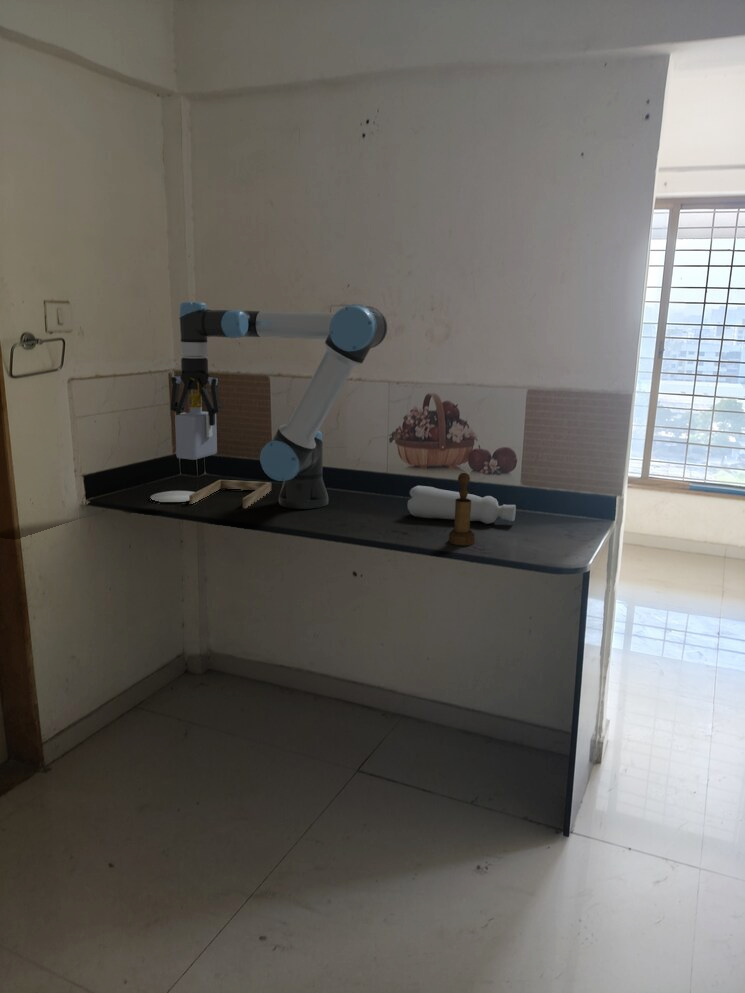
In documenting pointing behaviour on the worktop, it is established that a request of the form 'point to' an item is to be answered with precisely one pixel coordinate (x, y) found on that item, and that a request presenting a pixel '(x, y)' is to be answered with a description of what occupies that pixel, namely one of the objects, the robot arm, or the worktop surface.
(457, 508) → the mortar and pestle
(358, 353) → the robot arm
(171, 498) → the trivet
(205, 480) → the worktop surface
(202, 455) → the soap bottle
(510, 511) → the bottle
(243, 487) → the frame
